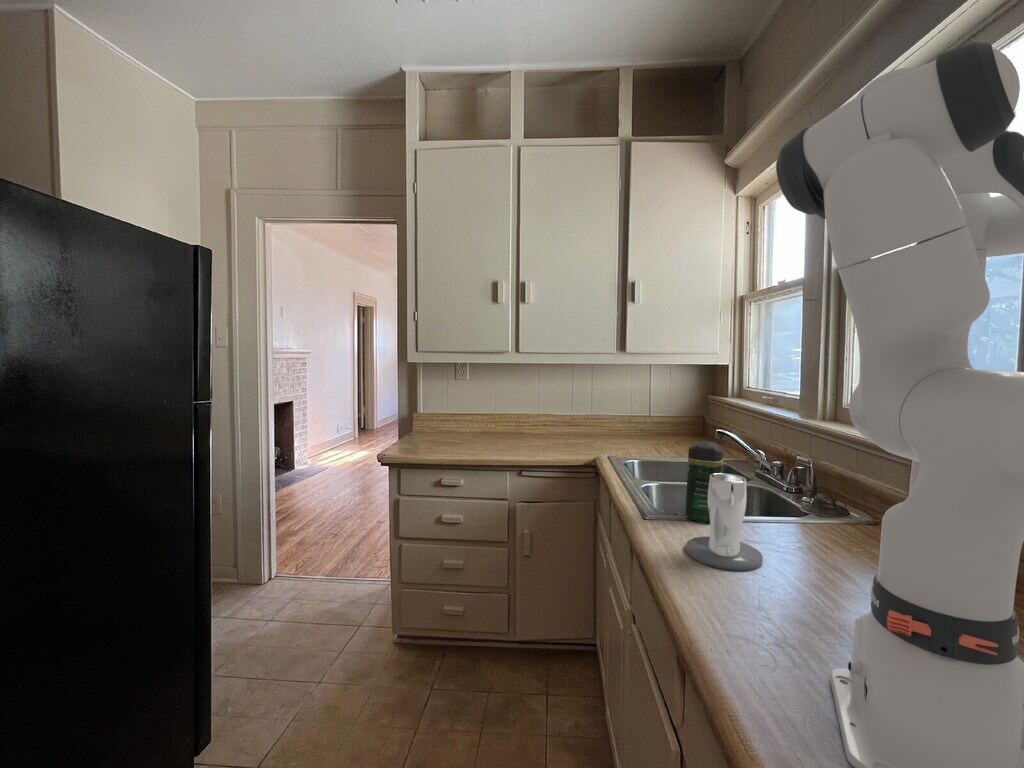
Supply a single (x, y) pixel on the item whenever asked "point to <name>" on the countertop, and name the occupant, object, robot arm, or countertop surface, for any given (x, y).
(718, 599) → the countertop surface
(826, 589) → the countertop surface
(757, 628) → the countertop surface
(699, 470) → the coffee jar
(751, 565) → the coaster
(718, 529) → the beer glass
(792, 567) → the countertop surface
